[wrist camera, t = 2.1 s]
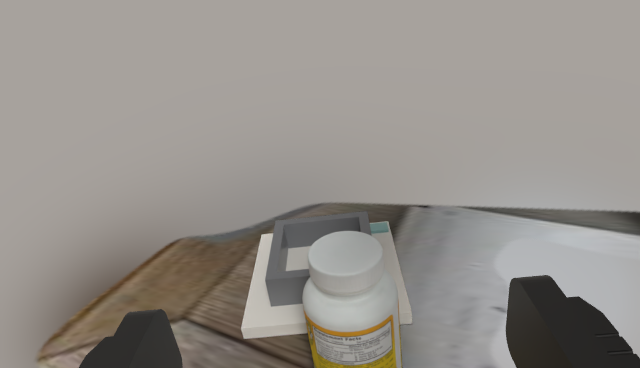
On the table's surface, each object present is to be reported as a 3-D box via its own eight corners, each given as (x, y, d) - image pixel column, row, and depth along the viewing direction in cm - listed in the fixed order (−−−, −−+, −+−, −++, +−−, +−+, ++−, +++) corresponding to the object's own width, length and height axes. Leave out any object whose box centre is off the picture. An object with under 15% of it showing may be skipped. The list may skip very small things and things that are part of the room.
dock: (388, 230, 41) (386, 197, 40) (412, 323, 31) (410, 284, 29) (263, 243, 42) (256, 212, 41) (243, 339, 31) (233, 301, 30)
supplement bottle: (385, 430, 24) (372, 295, 20) (301, 398, 27) (274, 271, 22) (414, 357, 28) (409, 232, 24) (339, 334, 31) (322, 217, 26)
